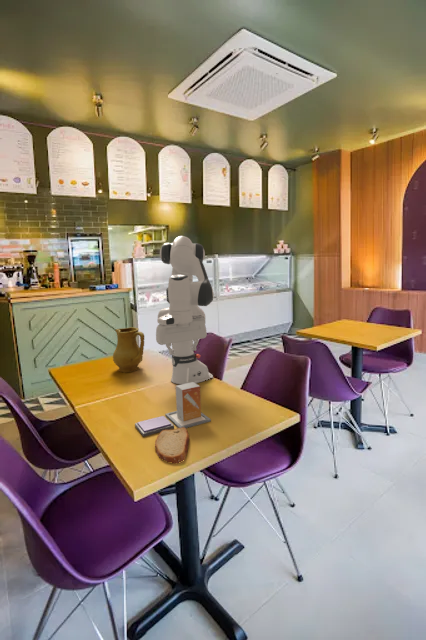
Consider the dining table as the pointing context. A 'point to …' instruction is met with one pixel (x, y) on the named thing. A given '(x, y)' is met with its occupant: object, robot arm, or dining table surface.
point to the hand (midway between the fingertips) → (183, 352)
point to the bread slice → (172, 445)
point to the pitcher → (128, 349)
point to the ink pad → (154, 425)
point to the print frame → (188, 423)
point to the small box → (188, 401)
